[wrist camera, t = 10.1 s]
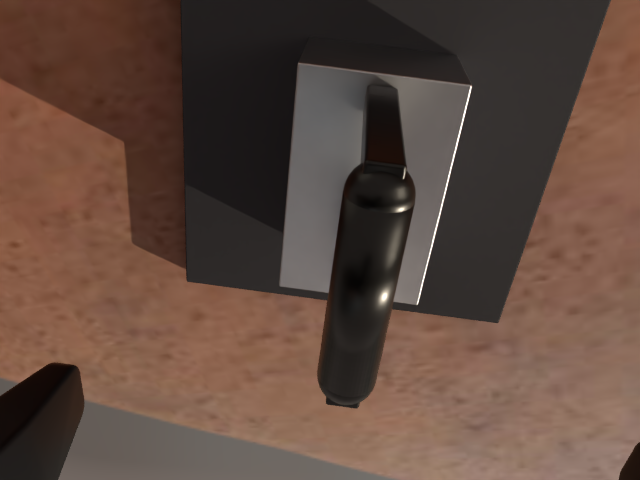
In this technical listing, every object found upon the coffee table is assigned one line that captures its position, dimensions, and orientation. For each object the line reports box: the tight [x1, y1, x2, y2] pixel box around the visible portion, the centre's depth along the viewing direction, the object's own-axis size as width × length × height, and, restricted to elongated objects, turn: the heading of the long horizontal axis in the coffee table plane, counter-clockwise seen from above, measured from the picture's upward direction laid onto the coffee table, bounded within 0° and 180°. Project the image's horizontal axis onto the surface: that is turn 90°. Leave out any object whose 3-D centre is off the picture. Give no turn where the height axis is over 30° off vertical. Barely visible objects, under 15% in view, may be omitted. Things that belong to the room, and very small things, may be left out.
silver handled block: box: [279, 37, 472, 408], centre depth 15 cm, size 7×4×8 cm, turn 174°
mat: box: [181, 0, 611, 323], centre depth 19 cm, size 12×12×1 cm
